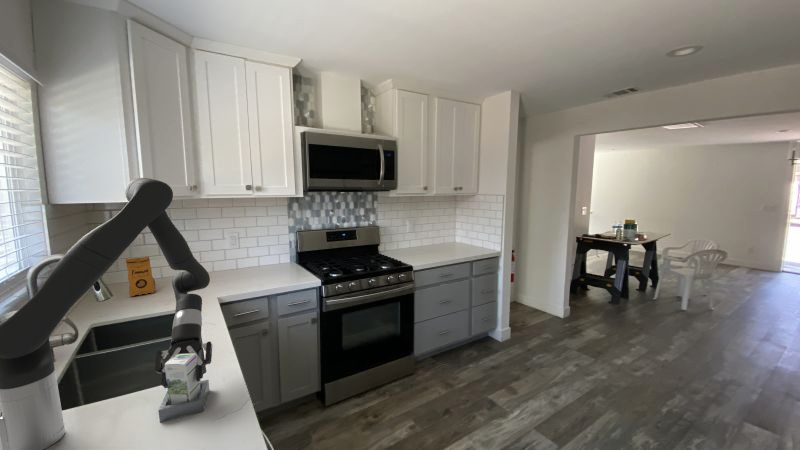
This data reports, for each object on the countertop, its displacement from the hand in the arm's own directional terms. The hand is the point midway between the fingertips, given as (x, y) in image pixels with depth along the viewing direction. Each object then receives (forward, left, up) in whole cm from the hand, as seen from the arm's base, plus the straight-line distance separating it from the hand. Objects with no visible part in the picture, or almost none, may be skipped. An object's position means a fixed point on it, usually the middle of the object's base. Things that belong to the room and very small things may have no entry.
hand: (182, 383), depth 90 cm
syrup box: (0, +2, -8) cm, 8 cm away
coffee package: (-45, +127, -8) cm, 135 cm away
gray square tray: (0, +2, -7) cm, 8 cm away
